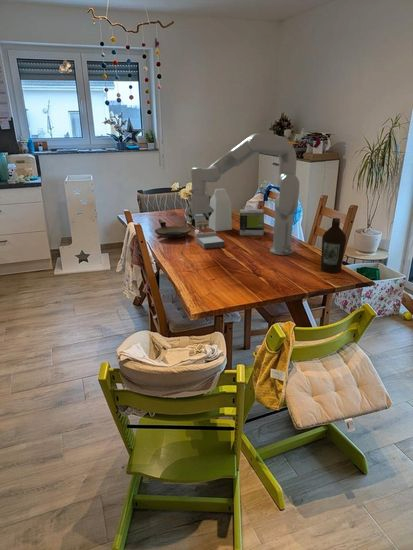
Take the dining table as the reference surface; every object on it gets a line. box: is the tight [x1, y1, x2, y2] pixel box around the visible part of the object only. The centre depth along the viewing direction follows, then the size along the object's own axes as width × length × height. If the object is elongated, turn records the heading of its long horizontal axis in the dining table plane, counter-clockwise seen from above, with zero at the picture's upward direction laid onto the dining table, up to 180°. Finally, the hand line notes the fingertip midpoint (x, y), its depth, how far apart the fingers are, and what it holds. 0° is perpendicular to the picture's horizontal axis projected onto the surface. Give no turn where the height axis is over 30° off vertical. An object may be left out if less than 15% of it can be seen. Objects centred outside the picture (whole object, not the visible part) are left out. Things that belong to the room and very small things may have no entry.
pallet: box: [192, 220, 210, 231], centre depth 209 cm, size 10×6×4 cm, turn 19°
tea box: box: [239, 208, 265, 236], centre depth 246 cm, size 15×10×15 cm
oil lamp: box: [154, 218, 192, 239], centre depth 245 cm, size 22×30×8 cm
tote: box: [194, 214, 206, 221], centre depth 209 cm, size 6×4×2 cm
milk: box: [209, 188, 233, 232], centre depth 257 cm, size 12×12×26 cm
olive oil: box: [320, 217, 347, 274], centre depth 184 cm, size 11×11×25 cm
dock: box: [196, 231, 225, 249], centre depth 228 cm, size 14×12×5 cm
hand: (200, 225), depth 210 cm, fingers closed on pallet, 6 cm apart
